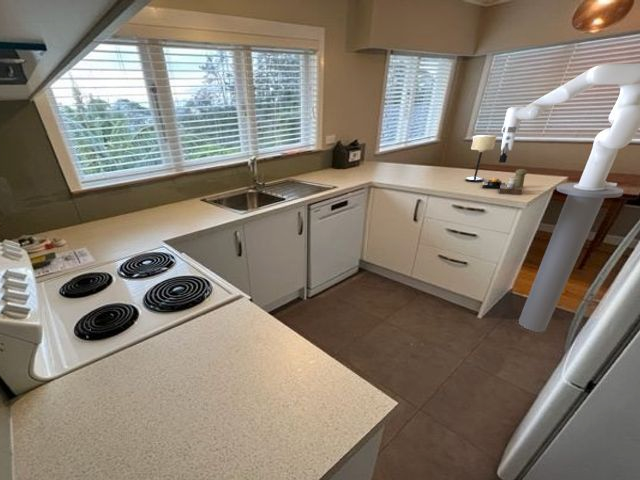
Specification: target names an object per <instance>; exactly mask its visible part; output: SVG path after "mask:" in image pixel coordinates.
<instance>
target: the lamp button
mask: <svg viewBox="0 0 640 480" xmlns="http://www.w3.org/2000/svg"><path fill="white" fill-rule="evenodd" d="M491 180H492V181H493V182H498V181H499V180H500V178H498V177H493V178H491Z"/></svg>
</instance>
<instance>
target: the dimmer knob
mask: <svg viewBox="0 0 640 480" xmlns="http://www.w3.org/2000/svg"><path fill="white" fill-rule="evenodd" d="M517 181H518V178H515V176H513V177H509V178H508V181H507V184H506V185H507V187H508V188H515V187H516V184H517Z"/></svg>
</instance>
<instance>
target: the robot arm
mask: <svg viewBox="0 0 640 480" xmlns="http://www.w3.org/2000/svg"><path fill="white" fill-rule="evenodd" d="M596 85H609V86H610V85H613V86H614V85H615V86H617V85H618V86H619V89H620V92H619V96H618V98H617V100H616V102H615V104H614V106H613V108H612V110H611V111H610V114H609V116H608V122H609V123H610V124H612V125H611V127H608V128H605V129H603V130H601V131H600V132H599V133H598V134H597V135H596V136H595V138H594V141H593V144H592V148H591V151H590V155H589V157H588V159H587V162H586V164H585V167H584V169H583V171H582V174H581V177H580V180H579V181H578V183H579V184H575V185H574V188H576V189H581V190H589V191H602V190H606V187H607V186H611V187H618V186H617V185H618V182H610V181H607V177H608V176H609V173H610V171H611V168H612V166H613V164H614V161H615V159H616V158H617V155H618V152H619V150H620V149H622V148H623V149H624V148H625V147H626V146H628V145H629V144H630V143H631V142H632V141H633V139H634V138H635V136H636V134H637V132H638V131H639V129H640V63H606V64H605V63H604V64H600V65H596V66H593V67H591V68H589V69H587V70H586V71H584V72H582V73H581V74H579V75H577V76H576V77H574V78H572V79H571V80H569V81H567V82H566V83H564V84H562V85H560V86H559V87H556V88H555V89H554V90H551V91H550V92H549V93H546V94H545V95H543V96H541V97H539V98H537V99H535V100H534V101H533V102H531V103H529V104H528V105H526V106H511V107H508V109H507V110H506V112H505V113H506V114H505V118H504V121H503V126H502V130H501V134H503V136H502V140H501V145H500V146H501V147H500V150H501V154H500V156H499V160H498V163H503V164H504V163H506V162H507V159H508V154H509V153H508V152H509V151H512V150H513V147H514V146H513V145H514V142H515V138H516V134H517V133H519V130H520V127H521V122H522V120H524V121H532V120H536V119H538V118H539V117H540V116H541V115H542V114H543V112H544V111H546V110H548V109H550V108H552V107H554V106H557V105H559V104H562V103H565V102H568V101H570V100H572V99H573V98H575V97H577V96H579V95H581V94H582V93H584V92H586V91H588V90H589V89H591V88H593V87H595V86H596Z"/></svg>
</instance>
